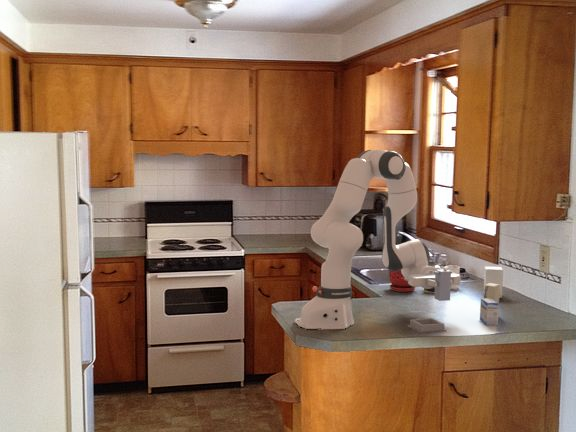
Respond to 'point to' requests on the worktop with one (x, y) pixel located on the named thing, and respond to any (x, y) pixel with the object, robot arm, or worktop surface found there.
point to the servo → (443, 284)
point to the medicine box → (489, 311)
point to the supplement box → (494, 277)
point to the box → (492, 292)
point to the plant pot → (399, 282)
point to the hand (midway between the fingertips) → (444, 283)
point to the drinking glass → (455, 270)
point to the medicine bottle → (432, 290)
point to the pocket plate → (426, 325)
